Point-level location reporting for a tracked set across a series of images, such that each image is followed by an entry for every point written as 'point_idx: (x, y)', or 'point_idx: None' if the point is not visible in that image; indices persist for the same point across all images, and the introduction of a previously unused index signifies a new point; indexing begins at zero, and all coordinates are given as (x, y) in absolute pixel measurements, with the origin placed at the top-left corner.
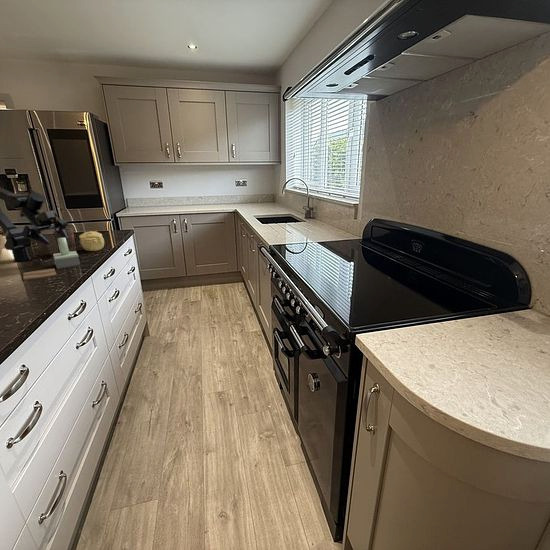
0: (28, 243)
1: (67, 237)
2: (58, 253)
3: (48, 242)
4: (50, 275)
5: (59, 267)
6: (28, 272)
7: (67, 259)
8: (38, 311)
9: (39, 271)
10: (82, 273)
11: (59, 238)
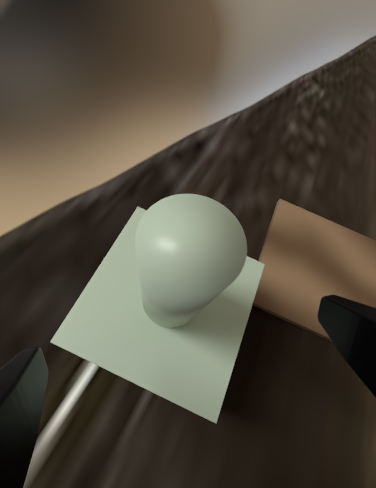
0: None
1: (10, 369)
2: (181, 392)
3: (340, 297)
4: (298, 208)
5: None
6: None
7: None
8: (372, 49)
9: (316, 303)
10: (209, 141)
11: (220, 248)
